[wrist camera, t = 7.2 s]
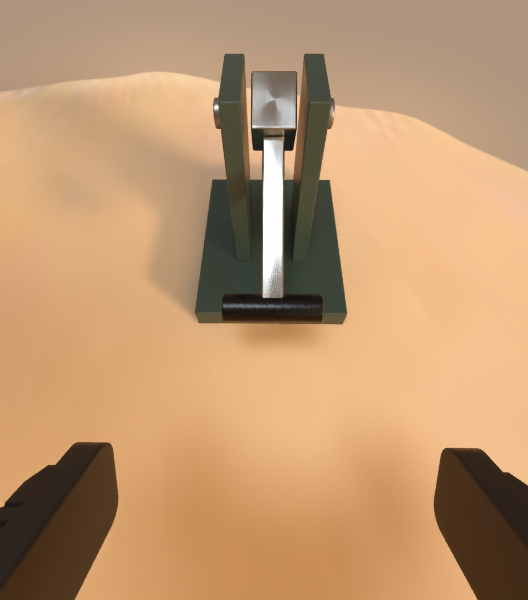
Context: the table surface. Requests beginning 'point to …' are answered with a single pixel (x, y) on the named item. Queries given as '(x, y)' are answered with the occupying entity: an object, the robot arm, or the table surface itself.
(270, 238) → the lever
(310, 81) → the bracket
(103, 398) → the table surface
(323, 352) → the table surface
